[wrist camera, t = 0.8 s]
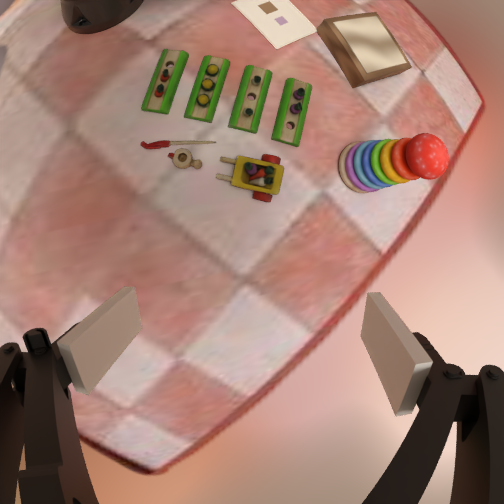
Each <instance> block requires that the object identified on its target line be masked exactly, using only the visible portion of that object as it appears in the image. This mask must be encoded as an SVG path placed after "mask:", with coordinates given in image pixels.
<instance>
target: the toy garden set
mask: <svg viewBox="0 0 504 504" xmlns="http://www.w3.org/2000/svg"><path fill="white" fill-rule="evenodd" d="M188 57H189V54H188V53H187V52H185V51H173V50H168V49H164V50H163V52H162V54H161V57H160V59H159V62H158V64H157V67H156V69H155V72H154V74H153V77H152V80H151V82H150V85H149V88H148V90H147V93H146V96H145V98H144V101H143V104H142V107H141V109H142V110H143V111H150V112H156V113H162V114H169V110H170V107H171V104H172V101H173V98H174V95H175V92H176V90H177V87H178V84H179V81H180V78H181V76H182V73H183V70H184V67H185V65H186V62H187V60H188ZM170 64H173V67H171V68H167V66H168V65H170ZM229 65H230V61H229V60H227V59H223V58H217V57H212V56H209V55H208V56H204V58H203V61H202V63H201V66H200V69H199V72H198V75H197V78H196V80H195V83H194V86H193V89H192V92H191V95H190V98H189V102H188V105H187V108H186V111H185V114H184V117H185V118H190V119H195V120H200V121H205V122H209V123H212V120H213V116H214V113H215V110H216V107H217V103H218V100H219V97H220V93H221V90H222V87H223V84H224V81H225V78H226V75H227V71H228V68H229ZM271 77H272V72H271V71H270V70H265V69H261V68H257V67H254V66H252V65H248V66H246V67H245V70H244V74H243V77H242V80H241V83H240V87H239V90H238V93H237V97H236V100H235V104H234V107H233V111H232V114H231V118H230V121H229V125H228V127H231V128H235V129H239V130H243V131H247V132H251V133H255V134H256V133H257V130H258V126H259V122H260V118H261V114H262V110H263V107H264V103H265V99H266V96H267V92H268V88H269V85H270V81H271ZM311 90H312V85H310V84H309V83H304V82H301V81H299V80H296V79H294V78H288V79H287V80H286V82H285V86H284V90H283V94H282V98H281V102H280V106H279V109H278V113H277V117H276V121H275V125H274V129H273V133H272V137H271V139H272V140H276V141H279V142H282V143H286V144H289V145H292V146H296V147H298V146H299V143H300V139H301V135H302V130H303V126H304V121H305V117H306V113H307V108H308V104H309V99H310V95H311ZM249 95H251V96H253V97H254V99H255V100H249V99H248V97H247V96H249ZM287 123H289V124H291V125H292V129H289V128H287V125H286V124H287ZM209 143H216V142H213V141H157V142H153V143H149V144H147V143H145V142H144V141H143V142H141V146H142V147H144V148H146V149H156V148H161V147H169V146H170V145H185V144H209ZM168 157H170V158H172V159H173V163H174V164H175V165H176V166H177V167H178V168H180V169H185V168H188V167H189V166H190V165H191V166H193V167H194V168H196V169H199V168H201V166H202V162H201V160H193V159H192V155H191V153H190V151H188V150H187V149H184V148H181V149H178V150H176V152H175V154H173V153H169V154H168ZM280 160H281V159H280V158H279V157H277V156H274V155H268V154H263V156H262V160H257V159H252V158H248V157H243V156H237V160H234V159H229V158H225V157H221V159H220V161H222V162H227V163H232V164H235V168H234V173H233V177H230V176H226V175H221V174H217V175H216V178H218V179H223V180H228V181H232V182H231V185H233V186H236V187H240V188H243V189H247V190H253V191H254V194H253V198H254V199H257V200H261V201H265V202H271V198H272V195H270V194H274V195H277V194H278V193H279V190H280V186H281V181H282V177H283V172H284V167H283V166H282V165H279V164H280ZM266 193H269V194H266Z"/></svg>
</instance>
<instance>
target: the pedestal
mask: <svg viewBox="0 0 504 504" xmlns="http://www.w3.org/2000/svg"><path fill="white" fill-rule="evenodd" d="M317 33H318V34H319V36H320V37H321V39H322V40H323V41H324V43H325V44H326V46H327V47H328V49H329V50H330V52H331V53H332V55H333V56H334V58H335V60H336V61H337V63H338V64H339V66H340V68H341V69H342V71H343V72H344V74H345V76H346V77H347V79H348V81H349V83H350V84H351V86H352V88H355V87H358V86H361V85H364V84H367V83H370V82H374V81H377V80H380V79H383V78H387V77H390V76H393V75H397V74H400V73H402V72H404V71H406V70H408V69H410V68H412V66H411V65H410V63H409V61H408V59H407V58H406V56H405V54H404V53H403V51H402V49H401V48H400V46H399V45H398V43H397V41H396V40H395V38H394V37H393V35H392V34H391V32H390V31H389V29H388V28H387V26H386V25H385V24H384V22H383V21H382V19H381V18H380V17H379V15H378V14H377V13H376V12H373V13H363V14H355V15H347V16H341V17H334V18H329V19H324V20H323V22H322V23H321V24H320V26H319V27H318V28H317Z"/></svg>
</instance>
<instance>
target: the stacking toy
mask: <svg viewBox="0 0 504 504" xmlns="http://www.w3.org/2000/svg"><path fill="white" fill-rule="evenodd" d="M448 163H449V155H448V151H447V148H446V146H445V145H444V143H443V142H442V141H441V140H440V139H439V138H438V137H436V136H435V135H432V134H428V133H422V134H418V135H416V136H414V137H413V138H412V139H411V138H402V139H400V140H398V139H394V140H391V139H385V140H377V141H376V140H370V141H366V142H354V143H351V144H350V145H348V146H347V147H346V148H345V149H344V150H343V152H342V153H341V156H340V159H339V171H340V175H341V177H342V179H343V181H344V182H345V184H346V185H347V186H348V187H349V188H351V189H352V190H354V191H356V192H359V193H368V192H374V191H377V190H379V189H382V188H385V187H390V186H392V185H396V184H399V183H406V182H408V181H410V180H416V179H419V178H420V177H421V178H423V179H436V178H438V177H440V176H441V175H442V174H443V173H444V172H445V171H446V169H447V167H448Z"/></svg>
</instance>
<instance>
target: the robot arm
mask: <svg viewBox="0 0 504 504" xmlns="http://www.w3.org/2000/svg"><path fill="white" fill-rule="evenodd" d="M142 2H143V0H61V7H62V15H63V19H64V22H65V23H66V24H67V26H68V27H69V28H70V29H71V30H72V31H74V32H76V33H81V34H89V33H95V32H99V31H102V30H105V29H108V28H110V27H112V26H114V25H116V24H118V23H120V22H121V21H123V20H124V19H126V18H127V17H128V16H130V15H131V14H132V13H133V12H134V11H135V10H136V9H137V8H138V7H139V6H140V5H141V3H142ZM141 329H142V324H141V318H140V313H139V307H138V301H137V295H136V289H135V287H125V286H124V287H123V288H122V289H121V290H119V291H118V292H117V293H115V294H114V295H113V296H112V297H110V298H109V299H108V300H107V301H105V302H104V303H103V304H102V305H101V306H99V307H98V308H97V309H96V310H94V311H93V312H92V313H91V314H90V315H88V316H87V317H86V318H85V319H83V320H82V321H81V322H79V323H77V324H75V325H74V326H72V327H71V328H70V329H69V330H68V331H66V332H65V334H63V335H62V336H60V337H59V338H58V339H57V340H56V341H55V342H53V343H52V344H51V343H50V340H49V337H48V334H47V331H46V330H45V329H44V328H35V329H31V330H29V331H27V332H26V333H25V334H24V335H23V340H24V342H25V345H26V348H27V350H28V352H21V350H20V347H19V345H18V344H17V343H13V342H12V343H7V344H4V345H3V346H2V347H1V348H0V504H15V497H16V488H17V480H18V483H19V491H20V498H21V504H99V503H98V500H97V498H96V495H95V492H94V489H93V486H92V484H91V480H90V477H89V474H88V470H87V468H86V464H85V460H84V457H83V453H82V449H81V445H80V440H79V436H78V432H77V427H76V422H75V417H74V411H73V405H72V399H71V393H70V390H69V388H68V385H69V384H70V383H71V382H72V383H73V386H74V388H75V390H76V392H79V393H82V394H86V395H89V394H90V393H91V391H92V390H93V389H94V387H95V386H96V385H97V384H98V382H99V381H100V380H101V379H102V377H103V376H104V375H105V374H106V372H107V371H108V370H109V369H110V367H111V366H112V365H113V364H114V362H115V361H116V360H117V359H118V357H119V356H120V355H121V354H122V352H123V351H124V350H125V349H126V348H127V346H128V345H129V344H130V343H131V341H132V340H133V339H134V338H135V337H136V335H137V334H138V333H139V332H140V331H141ZM361 338H362V340H363V342H364V344H365V347H366V349H367V351H368V353H369V355H370V358H371V360H372V362H373V364H374V367H375V369H376V371H377V373H378V376H379V378H380V380H381V383H382V385H383V387H384V389H385V392H386V394H387V396H388V399H389V401H390V404H391V406H392V409H393V411H394V413H395V416H401V415H407V414H411V413H412V412H413V409H414V407H415V405H416V404H417V406H418V408H419V412H418V414H417V416H416V418H415V420H414V422H413V424H412V426H411V428H410V430H409V432H408V433H407V435H406V437H405V439H404V441H403V442H402V444H401V446H400V448H399V450H398V451H397V453H396V455H395V456H394V458H393V459H392V461H391V463H390V464H389V466H388V467H387V469H386V470H385V472H384V473H383V475H382V477H381V478H380V479H379V481H378V482H377V484H376V485H375V487H374V488H373V489H372V491H371V492H370V493H369V495H368V496H367V498H366V499H365V500H364V501H363V503H362V504H418V502H419V500H420V499H421V497H422V495H423V493H424V491H425V489H426V487H427V485H428V483H429V481H430V479H431V477H432V474H433V472H434V470H435V468H436V466H437V463H438V461H439V459H440V456H441V454H442V451H443V449H444V446H445V443H446V441H447V438H448V435H449V433H450V430H451V427H452V424H453V422H457V442H456V443H457V444H456V458H455V471H454V479H453V487H452V494H451V500H450V504H504V372H503V371H502V370H501V369H500V368H499V367H497V366H495V365H494V366H493V365H485V366H483V367H482V368H481V370H480V372H479V374H478V375H465V372H464V371H463V369H461V368H460V367H459V366H456V365H454V364H446V363H445V362H444V360H443V359H442V357H441V356H440V355H439V354H438V352H437V351H436V350H435V349H434V347H433V346H432V345H431V344H430V342H429V341H428V340H427V338H426V337H425V336H423V335H422V334H420V333H418V332H415V333H412V332H411V331H410V330H409V328H408V327H407V326H406V324H405V323H404V322H403V321H402V319H401V318H400V317H399V315H398V314H397V313H396V312H395V310H394V309H393V308H392V307H391V305H390V304H389V303H388V301H387V300H386V299H385V298H384V297H383V295H382V294H381V293H380V292H377V293H376V292H375V293H367V300H366V306H365V313H364V319H363V325H362V330H361ZM11 382H12V384H13V386H14V388H12V384H11ZM23 445H24V446H25V461H26V470H20V471H19V466H20V461H21V455H22V449H23Z"/></svg>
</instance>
